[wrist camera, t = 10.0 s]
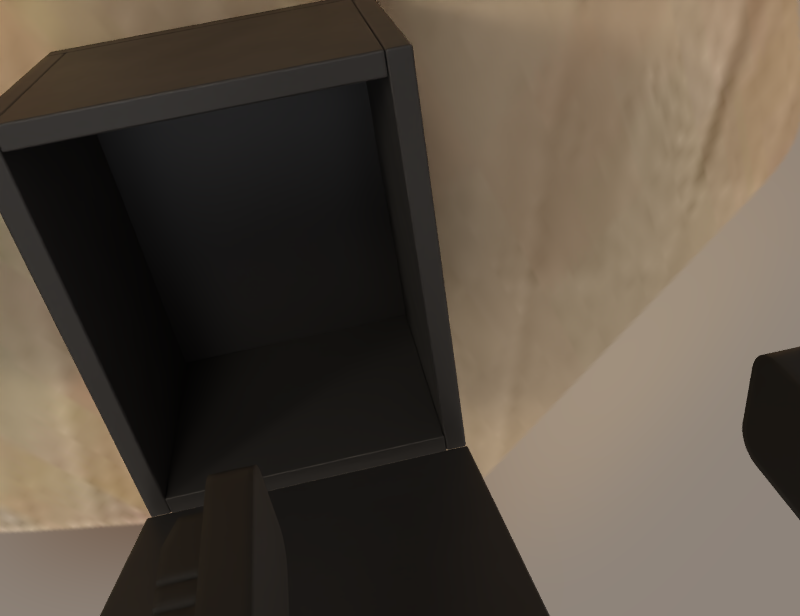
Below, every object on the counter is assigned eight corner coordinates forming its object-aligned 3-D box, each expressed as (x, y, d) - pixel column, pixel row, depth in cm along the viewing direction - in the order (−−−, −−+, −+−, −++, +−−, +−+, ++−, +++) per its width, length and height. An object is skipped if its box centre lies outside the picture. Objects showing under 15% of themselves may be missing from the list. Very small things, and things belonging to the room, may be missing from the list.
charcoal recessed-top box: (49, 52, 28) (-42, 131, 19) (369, -9, 28) (412, 43, 20) (176, 369, 36) (151, 518, 28) (420, 316, 37) (466, 446, 29)
